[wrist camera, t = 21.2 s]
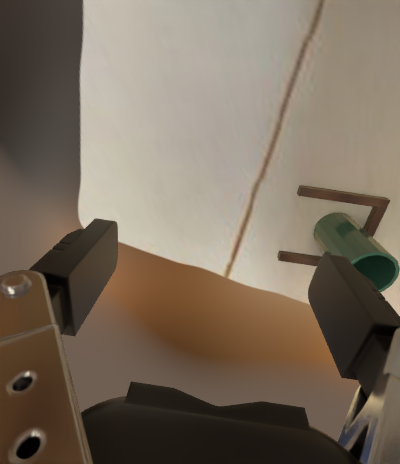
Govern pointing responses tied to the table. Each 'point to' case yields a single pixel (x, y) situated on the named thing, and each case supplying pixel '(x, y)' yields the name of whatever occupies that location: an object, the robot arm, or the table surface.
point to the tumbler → (356, 249)
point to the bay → (376, 202)
